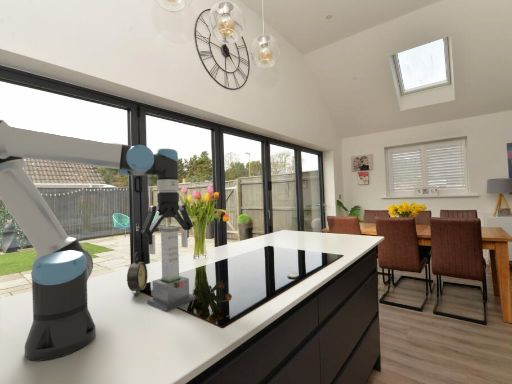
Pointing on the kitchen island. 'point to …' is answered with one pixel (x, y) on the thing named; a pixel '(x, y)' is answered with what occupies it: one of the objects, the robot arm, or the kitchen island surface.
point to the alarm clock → (137, 276)
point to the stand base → (170, 294)
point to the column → (170, 254)
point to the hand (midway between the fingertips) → (169, 250)
